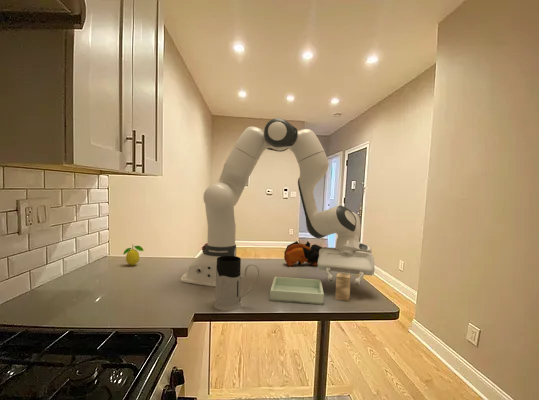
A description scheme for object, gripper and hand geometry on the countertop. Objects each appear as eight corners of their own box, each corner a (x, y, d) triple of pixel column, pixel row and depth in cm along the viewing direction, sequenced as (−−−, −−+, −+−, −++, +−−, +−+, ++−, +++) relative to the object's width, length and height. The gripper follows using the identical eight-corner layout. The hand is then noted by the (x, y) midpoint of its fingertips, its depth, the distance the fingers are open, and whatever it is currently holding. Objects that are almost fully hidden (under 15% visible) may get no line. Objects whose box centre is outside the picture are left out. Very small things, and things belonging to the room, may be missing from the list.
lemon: (143, 265, 138) (143, 243, 138) (133, 268, 133) (133, 245, 132) (132, 263, 141) (132, 242, 140) (122, 266, 135) (122, 244, 135)
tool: (323, 281, 146) (336, 253, 146) (281, 264, 141) (294, 235, 142) (318, 276, 154) (330, 249, 154) (278, 260, 149) (290, 232, 150)
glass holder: (218, 298, 100) (219, 254, 100) (260, 302, 98) (261, 257, 98) (209, 309, 92) (210, 261, 91) (255, 313, 90) (257, 264, 89)
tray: (270, 300, 100) (270, 290, 100) (274, 285, 116) (274, 276, 115) (323, 304, 98) (323, 294, 98) (320, 288, 114) (320, 279, 114)
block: (335, 299, 104) (336, 276, 103) (336, 294, 108) (337, 272, 108) (348, 301, 102) (349, 277, 102) (349, 296, 107) (350, 274, 106)
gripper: (319, 242, 115) (313, 273, 107) (375, 247, 109) (374, 281, 100) (320, 251, 120) (315, 282, 111) (374, 256, 113) (373, 290, 104)
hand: (343, 282), depth 105 cm, fingers open, 8 cm apart
